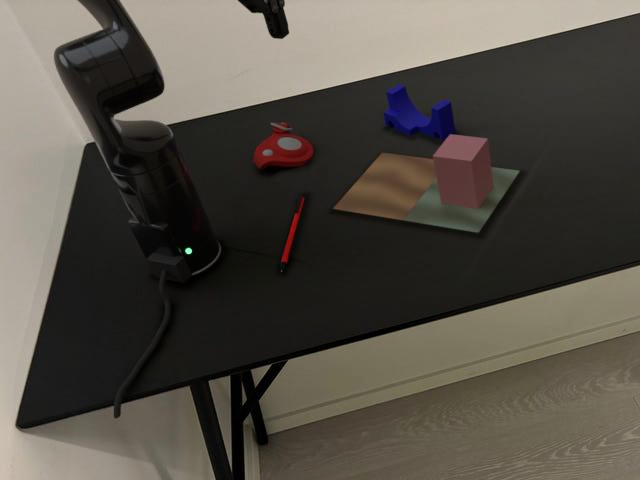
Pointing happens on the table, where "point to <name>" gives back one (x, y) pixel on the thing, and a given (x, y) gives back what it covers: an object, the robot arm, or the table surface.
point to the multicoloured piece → (418, 194)
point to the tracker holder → (283, 149)
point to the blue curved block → (418, 115)
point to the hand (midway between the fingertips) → (280, 36)
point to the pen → (291, 233)
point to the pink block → (463, 171)
